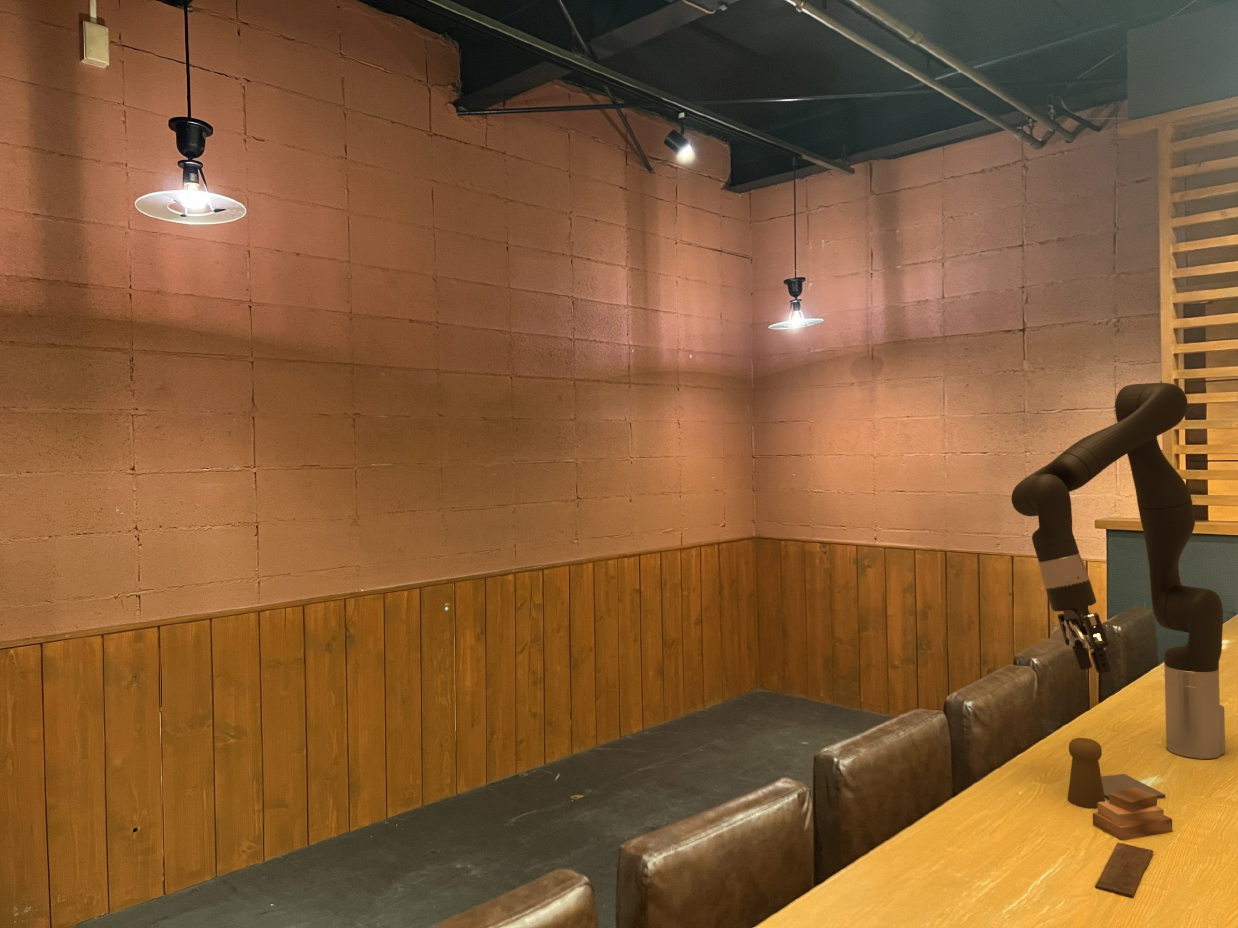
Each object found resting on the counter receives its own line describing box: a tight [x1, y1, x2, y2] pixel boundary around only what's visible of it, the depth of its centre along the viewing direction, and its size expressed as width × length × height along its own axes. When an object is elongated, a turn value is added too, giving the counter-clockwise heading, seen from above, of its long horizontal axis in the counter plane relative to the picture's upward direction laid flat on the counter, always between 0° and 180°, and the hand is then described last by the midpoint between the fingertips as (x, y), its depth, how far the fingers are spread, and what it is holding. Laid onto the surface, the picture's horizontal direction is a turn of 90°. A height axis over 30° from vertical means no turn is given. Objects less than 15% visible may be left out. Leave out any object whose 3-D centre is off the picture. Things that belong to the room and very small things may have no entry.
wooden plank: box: [1094, 842, 1154, 898], centre depth 132 cm, size 17×1×5 cm
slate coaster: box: [1101, 773, 1166, 801], centre depth 161 cm, size 10×10×1 cm
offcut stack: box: [1091, 787, 1173, 841], centre depth 145 cm, size 10×6×5 cm, turn 104°
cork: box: [1067, 737, 1106, 810], centre depth 156 cm, size 6×6×11 cm
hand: (1094, 670), depth 159 cm, fingers open, 8 cm apart
